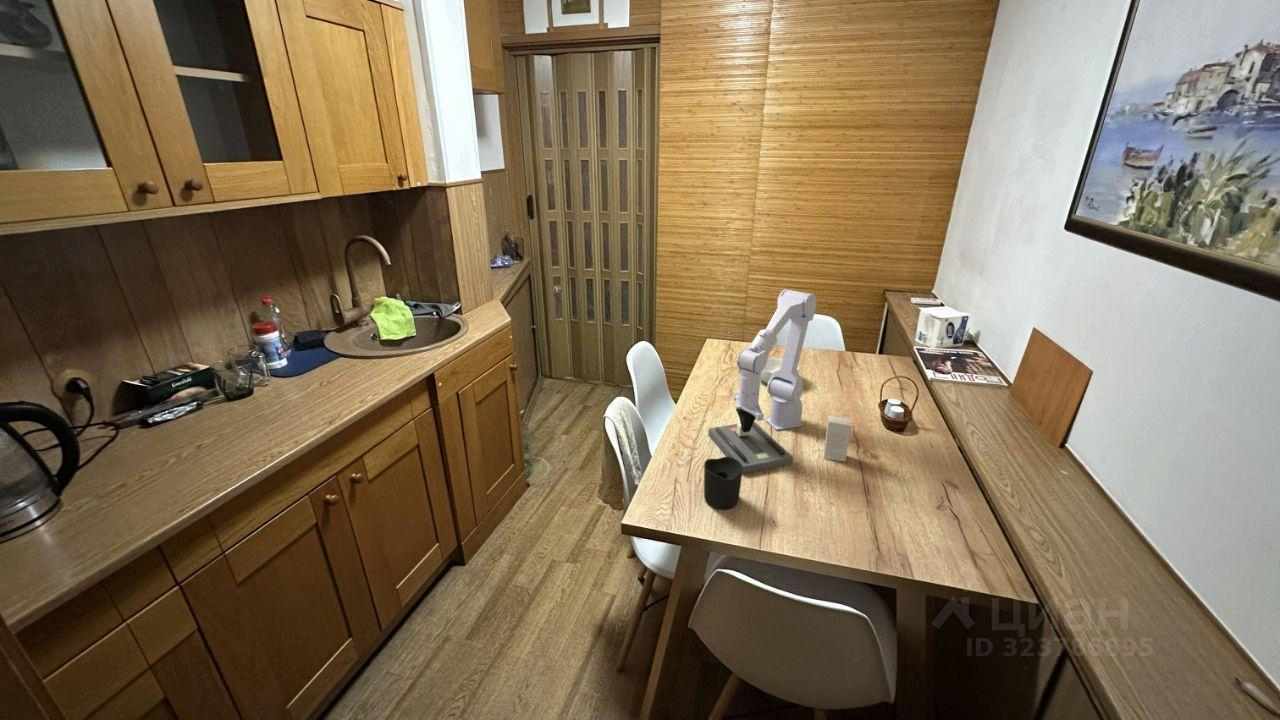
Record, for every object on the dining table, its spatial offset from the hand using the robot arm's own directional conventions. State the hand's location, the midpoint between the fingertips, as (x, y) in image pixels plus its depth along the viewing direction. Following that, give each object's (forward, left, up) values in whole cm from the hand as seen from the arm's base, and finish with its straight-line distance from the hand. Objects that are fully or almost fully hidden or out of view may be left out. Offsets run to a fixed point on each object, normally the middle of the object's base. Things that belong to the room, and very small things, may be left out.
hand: (746, 430), depth 148 cm
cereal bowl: (-34, -39, -5) cm, 52 cm away
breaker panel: (0, +2, -5) cm, 6 cm away
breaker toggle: (0, -2, -2) cm, 3 cm away
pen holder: (+18, +21, -5) cm, 28 cm away
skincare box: (-22, +13, -5) cm, 26 cm away
